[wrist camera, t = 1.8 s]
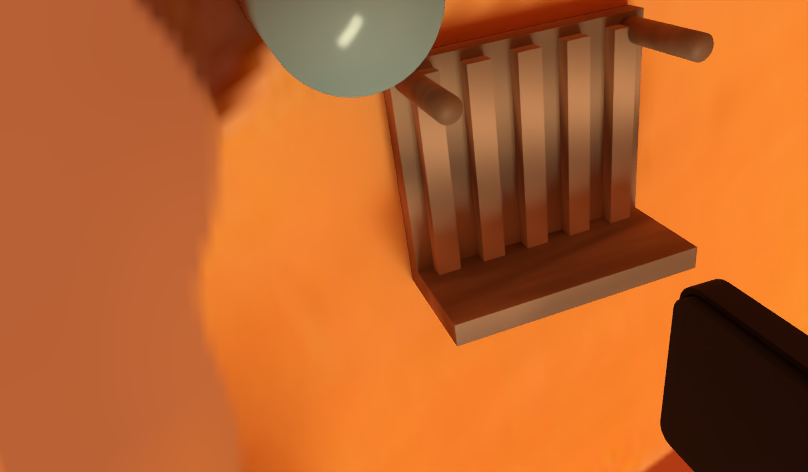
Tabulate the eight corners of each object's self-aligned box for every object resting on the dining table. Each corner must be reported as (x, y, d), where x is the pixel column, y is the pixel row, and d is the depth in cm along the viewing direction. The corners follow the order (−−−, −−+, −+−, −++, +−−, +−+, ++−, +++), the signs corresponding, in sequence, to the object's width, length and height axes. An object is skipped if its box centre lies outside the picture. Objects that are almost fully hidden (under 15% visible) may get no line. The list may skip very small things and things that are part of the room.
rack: (378, 60, 29) (426, 94, 24) (628, 4, 32) (719, 24, 27) (413, 280, 35) (457, 346, 30) (621, 217, 38) (695, 267, 33)
